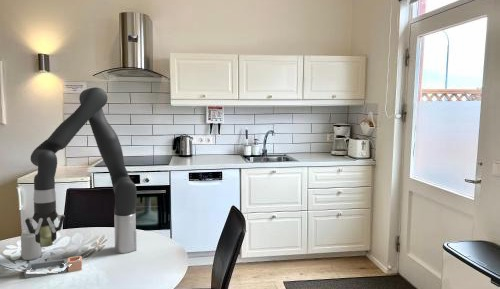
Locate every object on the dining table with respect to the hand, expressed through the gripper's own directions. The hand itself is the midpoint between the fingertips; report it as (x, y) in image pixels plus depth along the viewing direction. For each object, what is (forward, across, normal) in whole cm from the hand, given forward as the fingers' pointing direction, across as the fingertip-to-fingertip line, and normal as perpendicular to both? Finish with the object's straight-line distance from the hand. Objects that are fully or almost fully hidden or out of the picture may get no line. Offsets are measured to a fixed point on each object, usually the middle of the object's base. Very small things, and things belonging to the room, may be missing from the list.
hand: (46, 241), depth 141 cm
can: (+12, +7, -16) cm, 21 cm away
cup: (+12, -10, +2) cm, 16 cm away
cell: (+1, 0, 0) cm, 1 cm away
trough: (+12, 0, 0) cm, 12 cm away
